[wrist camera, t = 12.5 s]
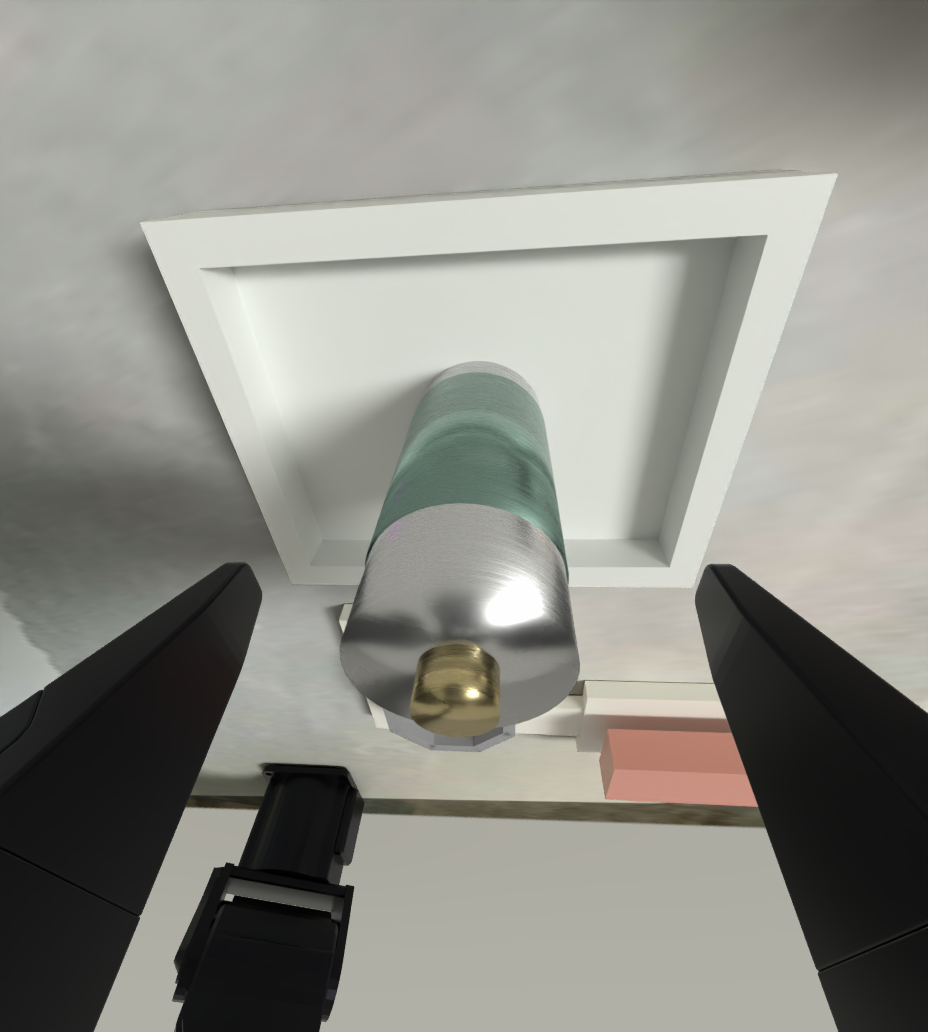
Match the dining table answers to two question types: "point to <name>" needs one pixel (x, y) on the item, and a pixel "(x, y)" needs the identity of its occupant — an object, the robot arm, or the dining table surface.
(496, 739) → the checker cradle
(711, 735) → the bar
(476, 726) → the silver cell
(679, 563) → the white rectangular tray
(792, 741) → the robot arm
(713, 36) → the dining table surface
